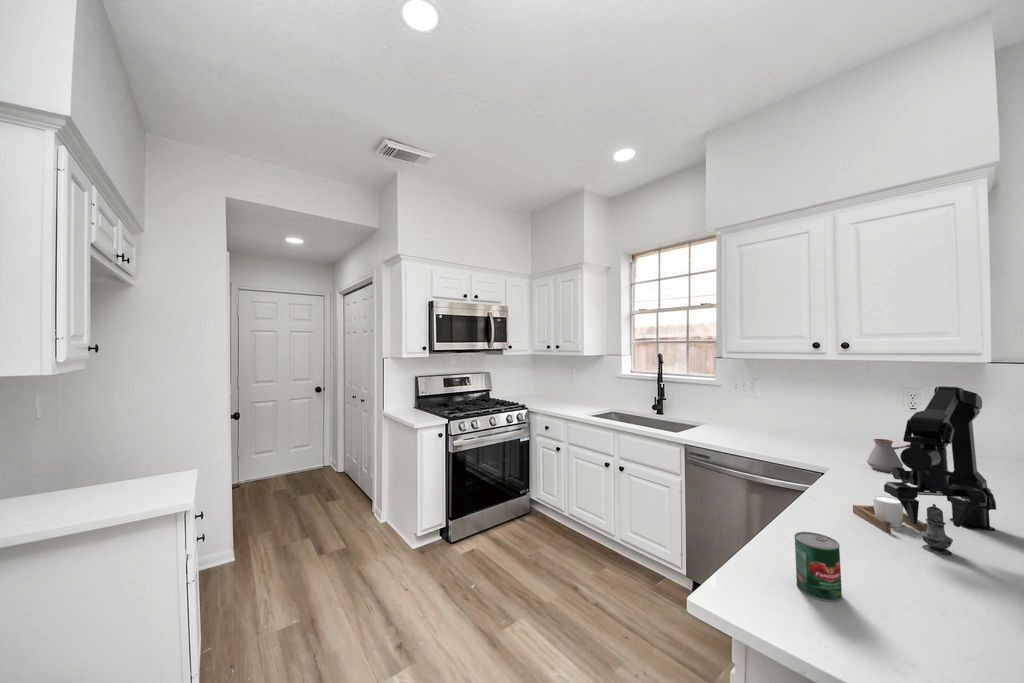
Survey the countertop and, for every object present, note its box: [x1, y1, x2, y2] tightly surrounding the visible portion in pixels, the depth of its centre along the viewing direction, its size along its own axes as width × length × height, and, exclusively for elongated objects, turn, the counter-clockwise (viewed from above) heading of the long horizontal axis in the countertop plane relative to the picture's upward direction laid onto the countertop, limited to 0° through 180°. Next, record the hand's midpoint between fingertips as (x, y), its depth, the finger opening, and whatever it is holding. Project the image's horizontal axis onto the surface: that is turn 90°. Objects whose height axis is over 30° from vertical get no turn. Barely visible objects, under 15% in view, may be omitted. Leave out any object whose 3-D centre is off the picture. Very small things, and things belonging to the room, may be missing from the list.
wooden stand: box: [852, 504, 927, 534], centre depth 117 cm, size 11×15×3 cm
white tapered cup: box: [871, 495, 904, 528], centre depth 118 cm, size 7×7×7 cm
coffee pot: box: [866, 438, 910, 473], centre depth 166 cm, size 21×12×15 cm, turn 32°
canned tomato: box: [793, 531, 843, 603], centre depth 85 cm, size 8×8×11 cm
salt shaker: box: [919, 503, 954, 557], centre depth 102 cm, size 6×6×12 cm
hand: (934, 525), depth 101 cm, fingers open, 9 cm apart
